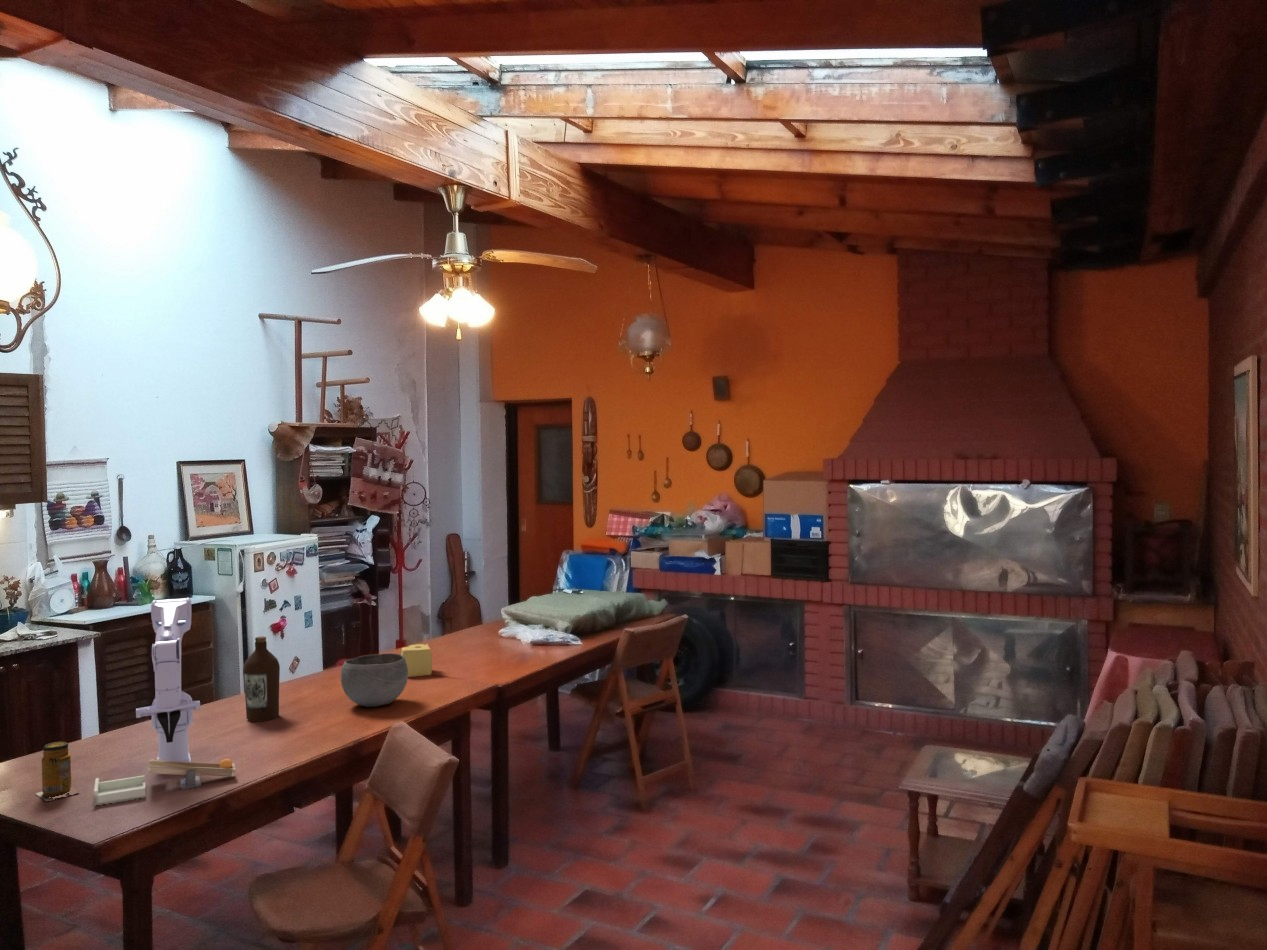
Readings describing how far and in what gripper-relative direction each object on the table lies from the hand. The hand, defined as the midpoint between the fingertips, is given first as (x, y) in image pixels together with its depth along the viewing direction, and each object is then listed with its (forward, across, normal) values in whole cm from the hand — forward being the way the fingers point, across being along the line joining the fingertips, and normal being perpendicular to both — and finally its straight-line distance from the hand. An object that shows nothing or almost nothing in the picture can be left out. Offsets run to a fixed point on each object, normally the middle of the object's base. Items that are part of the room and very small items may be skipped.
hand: (169, 741), depth 243 cm
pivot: (+10, +4, -7) cm, 12 cm away
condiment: (+10, -25, +3) cm, 27 cm away
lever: (+7, +4, -4) cm, 9 cm away
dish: (+10, -11, -6) cm, 16 cm away
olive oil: (+10, +28, +48) cm, 57 cm away
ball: (+6, +12, -7) cm, 15 cm away
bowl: (+10, +62, +44) cm, 77 cm away
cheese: (+10, +86, +80) cm, 118 cm away
